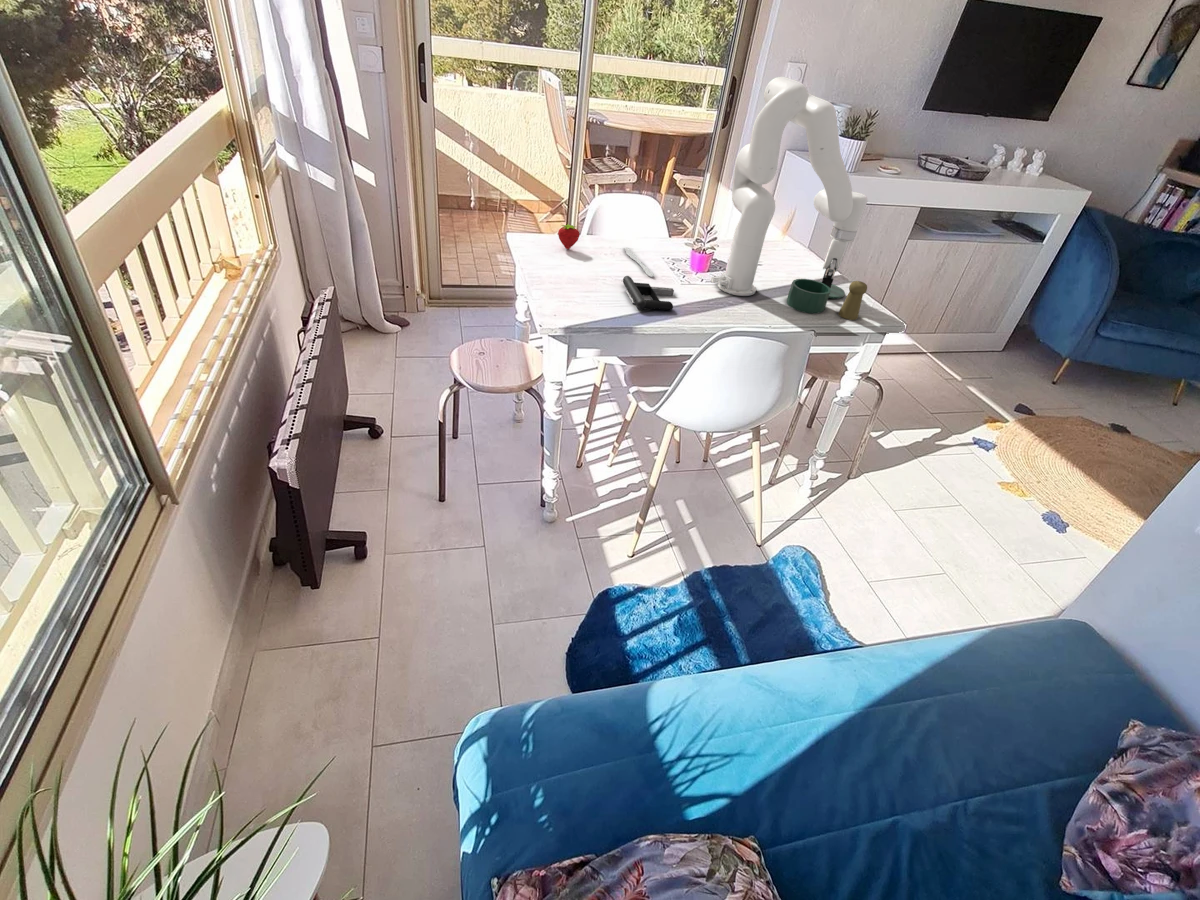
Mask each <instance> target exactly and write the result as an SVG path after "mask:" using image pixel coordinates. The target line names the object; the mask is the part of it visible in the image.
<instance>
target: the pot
mask: <svg viewBox="0 0 1200 900" xmlns="http://www.w3.org/2000/svg"><path fill="white" fill-rule="evenodd" d="M818 281H819V280H815V279H812V278H811V279H809V278H796V279H793V280H792V281H791V284H790V288H789V290H788V294H787V298H786V304H787V305H788V306H789V307H790V308H792V309H794V310H796V311H799V312H802V313H807V314H821V313H823V312H824V311H825V309H826V306H827V303H828V300H829V299H830V298H829V295H830V292H831V289H830V287H829V286H827V285H825V284H823V283H821V282H822V281H819V282H818Z"/></svg>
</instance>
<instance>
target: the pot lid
mask: <svg viewBox="0 0 1200 900" xmlns="http://www.w3.org/2000/svg"><path fill="white" fill-rule="evenodd" d="M817 281H818V282H821V283H822V281H819V280H817ZM830 289H831V292H830V295H829V298H828V299H842V298H843V297H845V295H846V292H845V290H844V289H843V288H842V287H840V286H838V285H835V284H833V283H832V285H831V288H830Z"/></svg>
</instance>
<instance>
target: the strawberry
mask: <svg viewBox="0 0 1200 900" xmlns="http://www.w3.org/2000/svg"><path fill="white" fill-rule="evenodd" d="M569 223H570V221H568V222H567V224H561V228H559V229H558V232H557V236H558V239H559V241H560V243H561V244H562V245H563V247H564V249H566V250H570V249H571V248H572V247H573V246H574V245H575V244H576V243H577V242H578V241H579V238H580V235H581V234H580V231H579V230H578V228H577V226H574V224H573V225H572V224H569Z"/></svg>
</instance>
